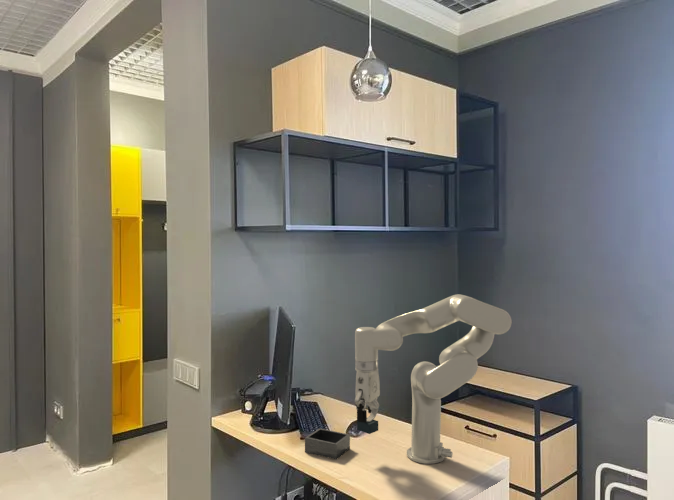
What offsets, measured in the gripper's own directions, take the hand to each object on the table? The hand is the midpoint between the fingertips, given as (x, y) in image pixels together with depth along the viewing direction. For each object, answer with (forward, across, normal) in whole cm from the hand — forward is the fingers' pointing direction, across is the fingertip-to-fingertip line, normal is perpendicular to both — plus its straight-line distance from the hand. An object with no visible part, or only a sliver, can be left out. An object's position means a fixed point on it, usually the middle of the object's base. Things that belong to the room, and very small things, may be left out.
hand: (367, 417), depth 170 cm
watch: (+4, 0, 0) cm, 4 cm away
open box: (+14, -1, +15) cm, 20 cm away
